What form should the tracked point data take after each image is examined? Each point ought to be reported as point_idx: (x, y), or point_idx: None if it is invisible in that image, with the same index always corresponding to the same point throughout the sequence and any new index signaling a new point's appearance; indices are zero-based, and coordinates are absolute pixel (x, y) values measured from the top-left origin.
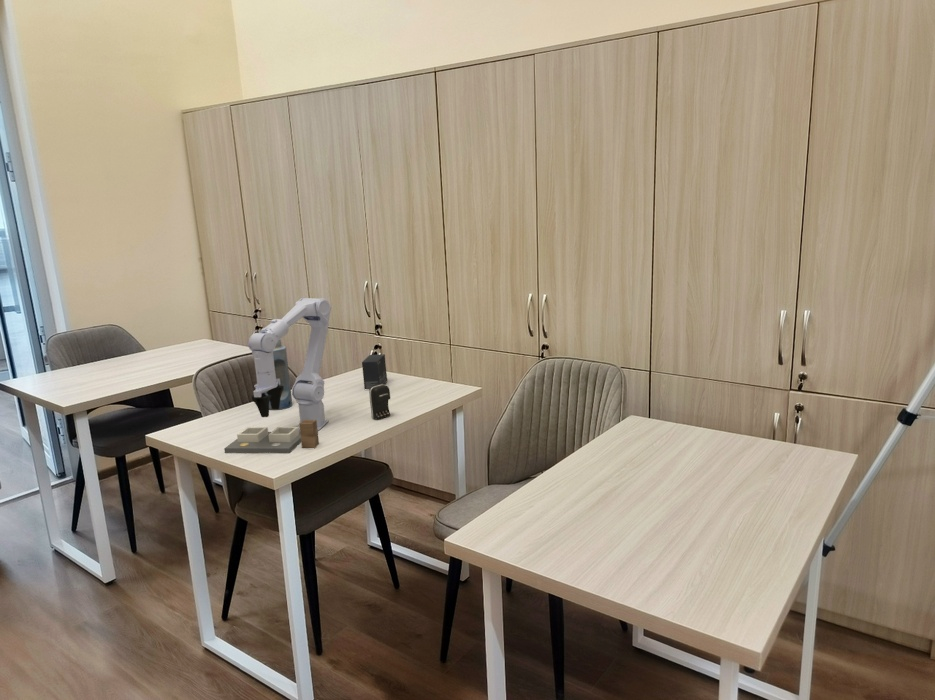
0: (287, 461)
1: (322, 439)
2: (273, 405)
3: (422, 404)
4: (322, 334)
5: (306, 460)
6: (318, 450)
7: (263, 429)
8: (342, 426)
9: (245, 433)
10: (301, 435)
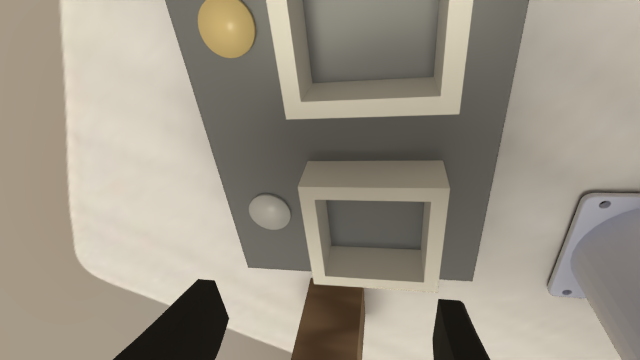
0: (186, 267)
1: (417, 316)
2: (442, 354)
3: None
4: None
5: None
6: None
7: (399, 108)
8: (591, 351)
9: None
10: (299, 330)
